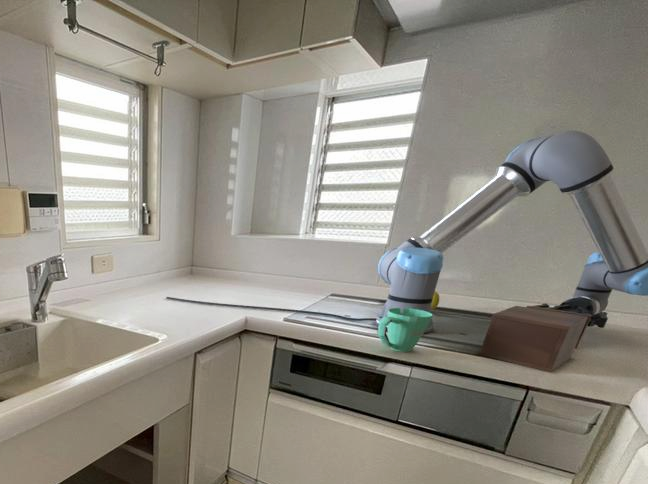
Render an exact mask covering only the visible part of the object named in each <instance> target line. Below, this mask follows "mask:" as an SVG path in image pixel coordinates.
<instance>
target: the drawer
mask: <svg viewBox="0 0 648 484" xmlns="http://www.w3.org/2000/svg"><path fill="white" fill-rule="evenodd" d="M534 306H535V305H526V307H528V308H534V309H541V310H548V311H555V312H561V313H568V314H575V315H581V316H588V318H587V321H586V323H585V325H584V328H583V330H582V332H581V335H580V337H579V339H578V341H577V344H576V346H575V348H574V350H577V349H579V346H580V344H581V341H582V339H583V337H584V334H585V333H586V330H587V327H588V326H587V325H588V323H589V321H590V319H591V316H592V315H588V314H581V313H574V312H568V311H561V310H554V309H547V308H540V307H534Z"/></svg>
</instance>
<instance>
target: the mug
mask: <svg viewBox="0 0 648 484" xmlns="http://www.w3.org/2000/svg"><path fill="white" fill-rule="evenodd" d="M432 316H433V317H434V314H433V315H432V314H431V313H429V312H426V311H423V310H417V309H410V308H405V309H404V310H403V312H402V313H401V312H400V308H392V309H389V310H388V317H384V318H382V319H381V321H380V322H379V325H378V326H377V331H376V333H377V335H378V337H379V339H380V341H381V343H382V344H383V345H385V346H387V347H389V348H390V349H391V350H393V351H395V352H400V353H410V352H412V351H413V349H414V348H415V347H416V345H417V344H418V343H419V341H420V339H421V338H422V337H423V335H424V334H425V333H424V332H425V330H426V328H427V326H428V324H429V322H430V320H431V319H432V320H433V318H432ZM387 325H388V330H387Z"/></svg>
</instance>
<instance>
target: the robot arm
mask: <svg viewBox="0 0 648 484" xmlns="http://www.w3.org/2000/svg"><path fill="white" fill-rule="evenodd" d="M614 170H615V168H614V166H613V164H612V162H611V160H610V157H609V156H608V154H607V152H606V151H605V150H604V148H603V146H602V145H601V144H600V143H599V142H598V140H596V139H595V138H594V137H592V135H590V134H589V133H586V132H585V131H580V130H567V131H561V132H558V133H555V134H550V135H546V136H539V137H535V138H533V139H529V140H526V141H525V142H524V143H521V144H520V145H518V146H517V147H515V148H514V149H513V150H512V151H511V152H510V153H509V155H508V156H507V157H506V159H505V161H504V162H503V163H502V164H501V165H500V166H498V167H497V168H496V170H495V175H494V177H493V178H491V179H490V180H488V181H487V182H486V183H485V184H484V185H482V186H481V187H480V188H479V189H477V190H476V191H475V192H474V193H473V194H471V195H470V196H469V197H468V198H466V199H465V200H464V201H462V202H461V203H460V204H459V205H457V206H456V207H455V208H453V209H452V210H451V211H450V212H449V213H447V214H446V215H445V216H444V217H442V218H441V219H440V220H439V221H437V222H436V223H434V224H433V225H432V226H430V228H428V229H427V230H426V231H424V232H423V233H422V234H420V236H418V237H409V238H408V239H406V241H404V242H403V243H402V244H400V246H398V247H394V248H392V249H390V250H388V251H386V252H385V253H384V254H383V255H382V256H381V258H380V259H379V262H378V266H377V271H378V274H379V276H380V278H381V279H382V280H383V281H384V283H386V284H387V285H390V286H389V291H388V295H387V298H386V302H385V303H384V305H383V306H382V308H381V310H380V311H379V313H378V314H377V317H375V318H374V317H373V318H371V317H366V318H365V317H361V318H359V317H357V318H356V317H347V316H344V315H339V314H333V313H327V312H319V311H311V310H309V311H308V310H300V309H290V308H282V307H281V308H280V307H267V306H255V305H243V304H233V303H231V304H230V303H219V302H211V301H200V300H194V299H193V300H191V299H185V298H177V297H171V296H166V298H165V299H166V300H172V301H173V300H174V301H179V302H186V303H194V304H203V305H211V306H221V307H233V308H245V309H256V310H270V311H278V312H279V311H280V312H291V313H299V314H300V313H301V314H309V315H310V314H311V315H319V316H327V317H334V318H339V319H342V320H347V321H353V322H354V321H355V322H363V321H364V322H365V321H367V322H368V321H369V322H372V321H373V322H375V325H376V327H378V325H379V322H380V321H381V319H382V318H384V317H388V310H389V309H392V308H400V312H401V313H402V312H403V310H404V309H405V308H410V309H417V310H423V311H426V312H429V313H431V314H432V315H433V316H432V319H431V320H430V322H429V324H428V326H427V328H426V330H425V332H424V333H423V334H427V333H430V332H432V329H433V323H434V322H433V321H434V320H433V319H434V313H433V311H432V310H431V303H432V299H433V296H434V292H435V291H436V288H437V286H438V281H439V278H440V274H441V270H442V268H443V266H444V255H443V253H445V252H446V251H447V250H449V249H450V248H452V246H454V245H455V244H457V243H458V242H459V241H461V240H462V239H463V238H464V237H466V236H467V235H468V234H470V233H472V232H473V231H474V230H475V229H476V228H478V227H479V226H480V225H482V224H483V223H485V222H486V221H487V220H488V219H490V218H491V217H493V216H494V215H495V214H496V213H498V212H499V211H500V210H502V209H503V208H504V207H505V206H506V207H507V205H508V204H510V203H511V202H513V200H515V199H517V198H519V197H523V198H524V197H528V196H529V195H530V194H532V193H533V192H534V191H536V190H537V189H539V188H540V187H541V186H542V185H544V184H545V183H548V182H552V183H554V184H555V185H556V186H557V187H558V189H559V191H560V193H561V194H562V195H563V194H565V195H568V196H569V197H570V199H571V201H572V203H573V205H574V207H575V209H576V211H577V212H578V214H579V217H580V219H581V221H582V222H583V224H584V226H585V228H586V230H587V232H588V234H589V236H590V237H591V239H592V242H593V243H594V245H595V248H596V249H597V251H598V252H597V251H596V252H593V253H591V254H590V255H589V257H588V259H587V261H586V263H585V264H584V266H583V270H582V272H581V275H580V278H579V280H578V283H577V285H576V288H575V290H574V292H573V294H572V297H570V298H568V299H566V300H564V301H563V302H561V303H560V304H559V305H554V306H553V307H551V306H550V304H548V303H542V304H537V305H533V306H534V307H540V308H547V309H554V310H561V311H568V312H574V313H581V314H588V315H592V316H591V319H590V321H589V323H588V325H587V327H590V328H591V327H594V326H596V327H597V328H599V329H604V328H605V326H606V324H607V322H608V319H609V318H608V312H607V311H605V310H606V309H607V307H608V305H609V298H610V296H611V293H612V292H613V291H618V292H621V293H624V294H625V293H626V294H628V295H633V296H634V295H635V296H642V297H644V296H645V297H647V296H648V251H647V248H646V247H645V244H644V243H643V241H642V237H641V236H640V235H639V232H638V230H637V228H636V226H635V224H634V222H633V220H632V217H631V216H630V213H629V212H628V210H627V207H626V206H625V204H624V201H623V200H622V197H621V195H620V193H619V191H618V189H617V187H616V185H615V183H614V181H613V179H612V177H611V175H612V173H613V172H614ZM386 331H388V325H387V330H386Z"/></svg>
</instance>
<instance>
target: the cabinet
mask: <svg viewBox="0 0 648 484" xmlns="http://www.w3.org/2000/svg"><path fill="white" fill-rule="evenodd" d="M587 318H588V316H581V315H575V314H568V313H561V312H555V311H548V310H541V309H534V308H528V307H527V306H520V305H513V306H511V307H508V308H506V309H503V310H500V311H496V312H495V313H494V312H493V313H492V317H491V319H490V322H489V326H488V328H487V331H486V334H485V337H484V339H483V343H482V345H481V349H480V352H479V354H478V355H479V356H482V357H486V358H489V359H494V360H498V361H503V362H508V363H510V364H515V365H519V366H524V367H528V368H533V369H536V370H540V371H545V372H552V371H554V370H555V369H557V368H559V367H560V366H561V365H563V364H564V363H566V362H567V361H569V360H570V359H571V357H572V355H573V353H574V350H575V349H574V348H575V346H576V344H577V341H578V339H579V337H580V335H581V332H582V330H583V328H584V325H585V323H586V321H587Z"/></svg>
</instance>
